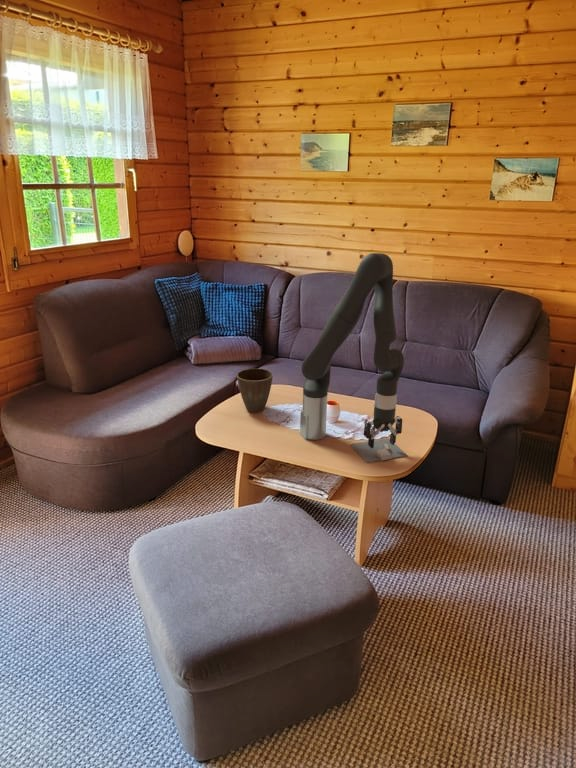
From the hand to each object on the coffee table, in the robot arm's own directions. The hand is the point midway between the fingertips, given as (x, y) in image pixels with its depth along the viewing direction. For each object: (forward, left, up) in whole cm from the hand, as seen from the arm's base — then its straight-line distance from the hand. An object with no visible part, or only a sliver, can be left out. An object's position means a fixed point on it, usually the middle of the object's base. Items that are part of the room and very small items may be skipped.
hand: (381, 445), depth 201 cm
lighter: (+1, -6, -2) cm, 6 cm away
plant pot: (-33, +51, -3) cm, 61 cm away
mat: (0, +2, -3) cm, 4 cm away
